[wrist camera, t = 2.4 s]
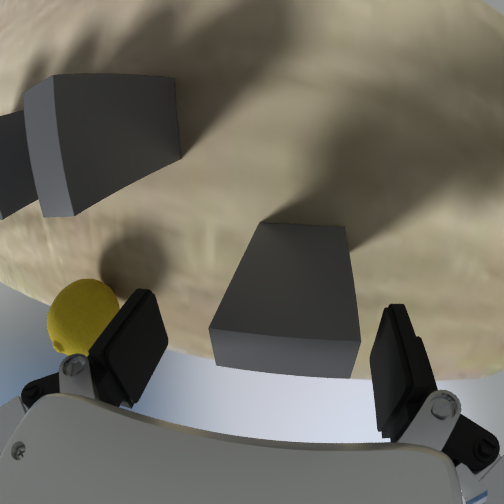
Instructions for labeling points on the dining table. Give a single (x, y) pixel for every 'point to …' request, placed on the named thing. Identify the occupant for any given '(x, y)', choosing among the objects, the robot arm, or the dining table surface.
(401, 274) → the dining table surface
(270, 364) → the domino
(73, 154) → the domino
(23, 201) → the domino
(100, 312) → the lemon
